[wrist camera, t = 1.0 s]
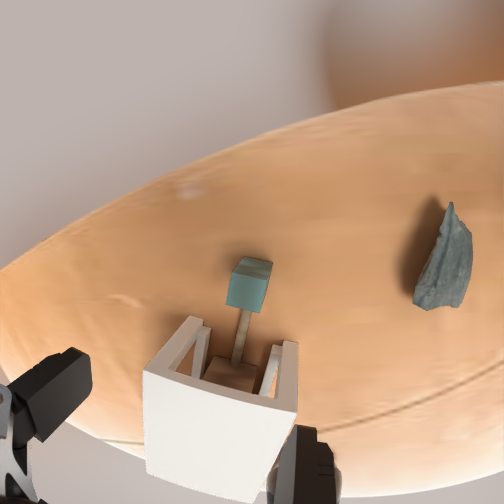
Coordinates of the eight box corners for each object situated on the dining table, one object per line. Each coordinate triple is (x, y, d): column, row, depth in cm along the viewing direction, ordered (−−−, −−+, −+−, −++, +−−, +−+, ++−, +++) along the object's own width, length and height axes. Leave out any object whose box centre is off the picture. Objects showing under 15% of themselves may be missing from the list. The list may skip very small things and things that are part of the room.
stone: (477, 213, 25) (421, 191, 23) (502, 223, 22) (449, 199, 20) (448, 299, 29) (389, 295, 27) (469, 315, 25) (410, 315, 23)
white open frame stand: (298, 343, 30) (297, 413, 19) (264, 438, 33) (252, 503, 22) (189, 315, 31) (142, 369, 20) (178, 415, 34) (146, 472, 23)
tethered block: (284, 265, 28) (281, 284, 22) (248, 398, 32) (240, 432, 26) (233, 253, 29) (218, 268, 23) (208, 387, 32) (193, 419, 26)
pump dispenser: (265, 476, 35) (251, 555, 20) (274, 438, 33) (260, 531, 18) (329, 481, 34) (330, 557, 19) (348, 442, 32) (358, 532, 17)
